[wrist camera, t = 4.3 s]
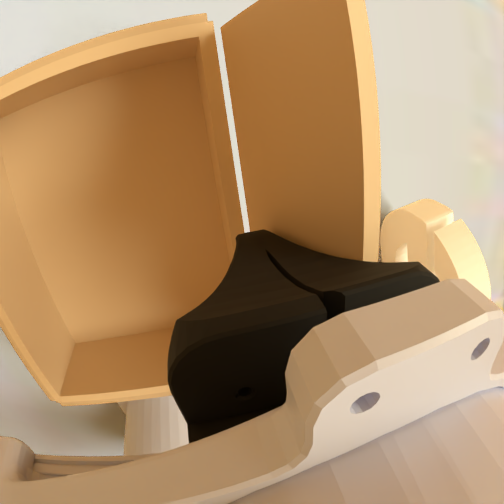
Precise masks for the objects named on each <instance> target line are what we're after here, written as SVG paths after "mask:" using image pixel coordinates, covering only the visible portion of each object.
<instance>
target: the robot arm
mask: <svg viewBox="0 0 504 504" xmlns="http://www.w3.org/2000/svg"><path fill="white" fill-rule="evenodd" d="M235 239H236V248H235V252H234V256H233V259H232V262H231V264H230V266H229V269H228V271H227V273H226V275H225V277H224V278H223V280H222V281H221V283H220V284H219V286H218V287H217V288H216V290H215V291H214V292H213V293H212V294H211V295H210V296H209V297H208V298H207V299H206V300H205V301H203V302H202V303H201V304H200V305H199V306H197V307H196V308H195V309H193V310H192V311H190V312H188V313H187V314H185V315H184V316H182V317H181V318H179V319H177V320H176V322H175V325H174V329H173V333H172V336H171V341H170V346H169V352H168V363H167V368H168V385H169V388H170V392H171V394H172V395H171V396H164V397H157V398H149V399H141V400H133V401H124V402H117V404H118V405H119V406H120V408H121V409H122V411H123V412H124V414H125V415H126V423H125V437H124V456H94V457H85V456H53V455H38V454H34V452H33V451H32V450H31V449H30V448H29V447H28V446H27V445H26V444H25V443H23V442H22V441H20V440H18V439H16V438H12V437H3V436H0V504H504V313H503V311H502V309H500V308H499V307H498V306H497V305H496V304H495V303H493V302H492V301H491V300H490V299H489V298H488V297H486V296H485V295H484V294H483V293H482V292H480V291H479V290H478V289H477V288H475V287H474V286H473V285H472V284H471V283H469V282H468V281H467V280H466V279H447V280H444V281H441V282H440V281H439V279H438V277H436V276H435V275H434V274H433V273H432V272H430V271H429V270H428V269H427V268H426V267H424V266H423V265H422V264H421V263H420V262H391V263H388V262H368V261H359V260H352V259H345V258H340V257H335V256H331V255H327V254H324V253H320V252H317V251H314V250H311V249H308V248H305V247H303V246H300V245H298V244H295V243H293V242H291V241H289V240H286V239H284V238H282V237H280V236H278V235H276V234H274V233H272V232H270V231H267V230H265V229H263V230H258V231H252V232H247V233H243V234H238V235H237V236H236V238H235Z"/></svg>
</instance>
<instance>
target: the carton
mask: <svg viewBox="0 0 504 504" xmlns="http://www.w3.org/2000/svg"><path fill="white" fill-rule="evenodd" d="M243 233H244V227H243V220H242V214H241V207H240V201H239V194H238V188H237V181H236V174H235V168H234V161H233V154H232V148H231V141H230V134H229V128H228V121H227V114H226V108H225V101H224V94H223V87H222V81H221V74H220V67H219V60H218V53H217V47H216V40H215V33H214V26H213V21H209V22H208V21H207V14H206V13H203V14H196V15H189V16H183V17H177V18H172V19H167V20H162V21H157V22H152V23H148V24H143V25H139V26H135V27H131V28H127V29H124V30H120V31H116V32H113V33H109V34H106V35H103V36H100V37H96V38H93V39H90V40H87V41H84V42H81V43H79V44H76V45H73V46H70V47H68V48H65V49H62V50H60V51H57V52H55V53H52V54H50V55H47V56H45V57H43V58H40V59H38V60H36V61H34V62H31V63H29V64H27V65H25V66H23V67H21V68H19V69H17V70H14V71H12V72H10V73H8V74H7V75H5V76H3V77H1V78H0V326H1V328H2V330H3V332H4V333H5V335H6V337H7V338H8V340H9V342H10V343H11V345H12V346H13V348H14V350H15V351H16V353H17V354H18V356H19V357H20V359H21V360H22V362H23V363H24V365H25V366H26V368H27V369H28V371H29V372H30V373H31V375H32V376H33V378H34V379H35V380H36V382H37V383H38V385H39V386H40V387H41V389H42V390H43V391H44V393H45V394H46V395H47V396H48V398H49V399H50V400H51V401H56V402H59V403H60V404H61V405H62V406H74V405H90V404H103V403H114V402H124V401H133V400H141V399H149V398H157V397H164V396H171V395H172V394H171V392H170V388H169V385H168V368H167V363H168V352H169V346H170V341H171V336H172V333H173V329H174V325H175V322H176V320H177V319H179V318H181V317H182V316H184V315H185V314H187V313H188V312H190V311H192V310H193V309H195V308H196V307H197V306H199V305H200V304H201V303H202V302H203V301H205V300H206V299H207V298H208V297H209V296H210V295H211V294H212V293H213V292H214V291H215V290H216V288H217V287H218V286H219V284H220V283H221V281H222V280H223V278H224V277H225V275H226V273H227V271H228V269H229V266H230V264H231V262H232V259H233V256H234V252H235V248H236V239H235V238H236V236H237V235H238V234H243Z"/></svg>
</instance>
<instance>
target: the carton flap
mask: <svg viewBox="0 0 504 504" xmlns="http://www.w3.org/2000/svg"><path fill="white" fill-rule="evenodd" d="M221 34H222V40H223V47H224V54H225V61H226V68H227V75H228V81H229V88H230V95H231V102H232V109H233V116H234V123H235V129H236V136H237V143H238V150H239V157H240V164H241V171H242V178H243V185H244V191H245V198H246V205H247V212H248V219H249V226H250V232H252V231H258V230H263V229H265V230H267V231H270V232H272V233H274V234H276V235H278V236H280V237H282V238H284V239H286V240H289V241H291V242H293V243H295V244H298V245H300V246H303V247H305V248H308V249H311V250H314V251H317V252H320V253H324V254H327V255H331V256H335V257H340V258H345V259H352V260H359V261H368V262H378V254H379V236H380V206H381V160H380V131H379V113H378V99H377V87H376V77H375V68H374V59H373V51H372V44H371V36H370V30H369V23H368V17H367V12H366V6H365V1H364V0H259V1H257V2H256V3H254V4H253V5H251V6H250V7H248V8H247V9H245V10H244V11H242V12H241V13H240V14H238V15H237V16H235V17H234V18H233V19H231V20H230V21H229V22H227V23H226V24H225V25H223V26H222V27H221Z"/></svg>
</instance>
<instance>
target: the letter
mask: <svg viewBox="0 0 504 504" xmlns="http://www.w3.org/2000/svg"><path fill="white" fill-rule="evenodd" d="M380 247H381V256H382V262H388V263H391V262H420V263H421V264H422V265H423V266H424V267H426V268H427V269H428V270H429V271H430V272H432V273H433V274H434V275H435V276H436V277H438V279H439V281H440V282H441V281H444V280H447V279H466V280H467V281H468V282H469V283H471V284H472V285H473V286H474V287H475V288H477V289H478V290H479V291H480V292H482V293H483V294H484V295H485V296H486V297H488V298H489V299H490V300H491V288H490V280H489V275H488V271H487V267H486V264H485V261H484V258H483V255H482V253H481V250H480V248H479V246H478V244H477V242H476V240H475V238H474V237H473V235H472V233H471V232H470V230H469V229H468V227H467V226H466V225H465V223H464V222H463V221H462V219H459V220H457V221H455V222H453V211H452V210H451V209H450V208H448V207H447V206H445V205H443V204H441V203H439V202H437V201H435V200H432V199H421V200H418V201H416V202H413V203H411V204H408V205H406V206H403V207H401V208H398V209H396V210H393V211H392V212H390V213H389V214H388V215H387V216H386V217H385V219H384V220H383V223H382V226H381V231H380Z"/></svg>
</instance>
